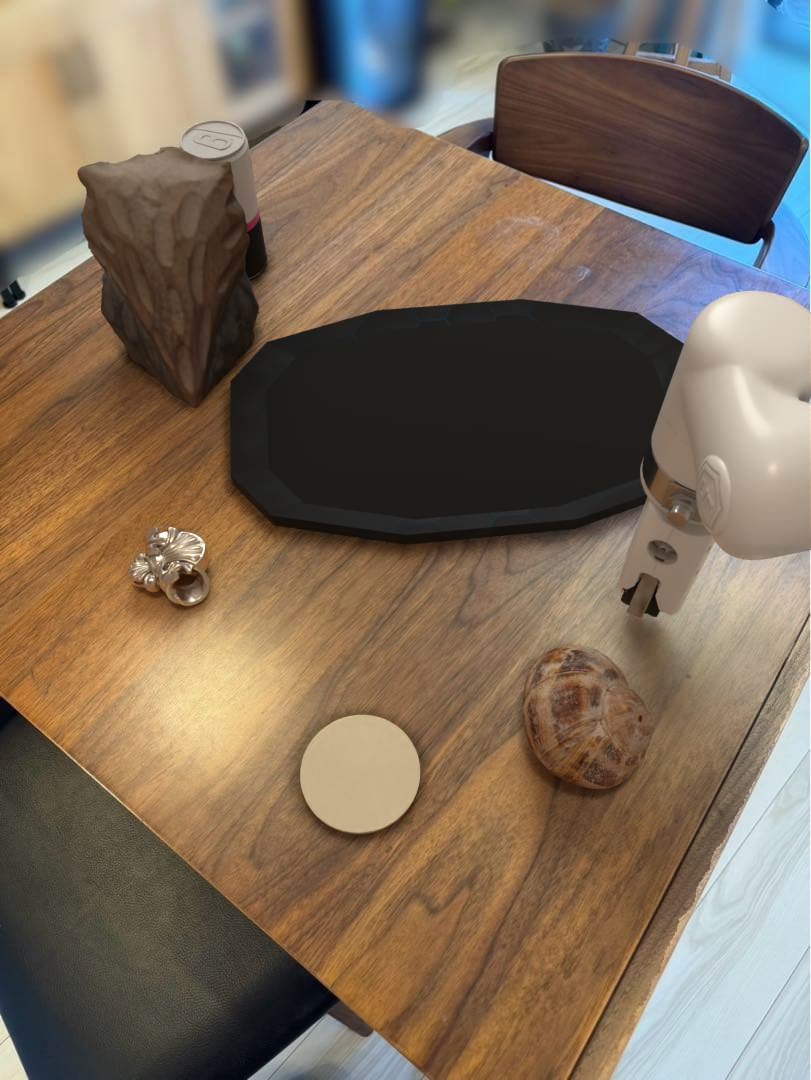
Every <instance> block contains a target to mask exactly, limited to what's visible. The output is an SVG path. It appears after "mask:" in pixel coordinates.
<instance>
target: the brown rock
mask: <svg viewBox="0 0 811 1080" xmlns="http://www.w3.org/2000/svg"><path fill="white" fill-rule="evenodd" d="M77 178H78V180H79V181H80V183H81V185H82V186H83V187H84V188H85V190H86V194H85V195H86V196H85V201H84V206H83V208H82V212H81V213H80V216H81V220H82V222H81V223H82V224H81V225H82V233H83V236H84V237H85V239H86V241H87V248H88V249H89V250H90V253H91V254H92V256H93V257H94V259H95V260H96V261H97V262H98V264H99V266H100V267H101V268H102V269H103V271H104V273H102V274H101V283H102V287H101V296H100V311H101V314H102V316H103V317H104V319H105V320H106V322H107V323H108V324H109V326H110V328H111V329H112V331H113V332H114V334H115V335H116V336H117V337H118V339H119V340H120V341H121V343H122V344H123V346H124V347H125V349H126V352H127V355H128V357H129V358H130V359H131V360H132V361H133V362H135V363H136V364H138V365H140V366H142V367H144V368H145V371H146V373H147V374H148V375H149V376H152V377H155V378H156V379H157V381H158V382H160V383H162V384H164V385H165V388H166V390H167V391H168V392H169V393H170V394H171V395H173V396H175V397H177V398H179V399H181V400H183V402H185V403H186V404H187V405H189V406H191V407H192V408H194V409H196V408H198V407H199V406H200V405H201V403H202V402H203V400H205V398H206V397H208V395H209V394H210V392H211V391H212V390H213V388H214V387H216V386H217V385H219V383H220V382H221V380H222V379H223V377H224V376H225V374H226V373H227V372H228V371H229V370H232V369H233V368H234V367H235V366H236V364H237V361H238V359H239V357H240V356H241V355H242V354H244V353H245V352H247V351H248V350H249V349H250V348H251V347H252V345H253V343H254V338H255V332H254V331H255V330H254V329H255V326H256V322H257V318H258V315H259V313H260V305H259V302H258V301H257V298H256V295H255V293H254V289H253V286H252V282H251V279H249V278H248V276H247V274H246V271H245V256H246V251H247V248H248V246H249V243H250V238H249V236H248V234H247V223H246V216H245V212H244V210H243V208H242V206H241V205H240V203H239V202H238V201H237V199H236V196H235V194H234V192H233V189H234V182H233V173H232V170H231V162H228V161H220V162H211V161H209V160H206V159H204V158H201V157H198V156H195V155H193V154H190V153H188V152H186V151H184V150H182V149H180V148H179V147H177V146H162V147H160V148H159V150H158V151H156V152H153V153H149V154H141V153H138V154H136V155H134V156H132V157H130V158H128V159H126V160H122V161H118V162H114V163H112V162H109V161H97V162H94V163H90V164H87V165H84V166H80V167H79V169H78V170H77Z"/></svg>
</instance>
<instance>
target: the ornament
mask: <svg viewBox="0 0 811 1080" xmlns="http://www.w3.org/2000/svg"><path fill="white" fill-rule="evenodd" d="M143 543H144V545H145V548H144V549H145V551H146V552H144V551H141V552H140V551H139V552H138V554H136V555H135V558H134V562H132V563H131V564H130V566H129V568H128V571H127V579H128V581H129V583H130V584H131V585H133V586H135V587H137V588H144V589H145V590H146V591H147V592H151V593H157V592H160V590H162V591H163V592H164V593H165V595H166V596H167V598H168V599H169V601H171V602H172V603H173V604H177V605H179V604H180V605H181V606H183V607H190V606H192V607H193V606H195V605H198V604H199V603H200V602H202V601H203V600H205V598H206V597H207V595H208V594H209V592H210V588H211V587H210V585H211V584H210V577H209V576H208V574H207V572H206V570H207V568H208V566H209V561H210V552H209V550H208V546H207V544H206V543H205V541H204V540H203V538H201V537H200V536H199V535H197V534H195V533H193V532H190V531H189V532H188V531H187V528H185V527H179V528H175V527H174V526H172V525H171V526H167V529H166V531H161V532H160V527H158V526H156V525H154V526H151V527H150V528H149V529H148V530H147V531H146V533H145V534H144V536H143ZM180 575H190V576H194V577H196V578H195V579H194V580H193V581H192V583H190V584H188V585H179V584H175V582H177V581H178V580H179V578H180Z"/></svg>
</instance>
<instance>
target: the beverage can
mask: <svg viewBox="0 0 811 1080" xmlns="http://www.w3.org/2000/svg"><path fill="white" fill-rule="evenodd" d="M244 131H245V130H244V129H243V128H242V127H241V126H240V125H239V124H237V123H236V122H233V121H230V120H226V119H206V120H202V121H198V122H196V123H193V124H191V125H190V126H188V127H187V128H185V130H183V132H182V133H181V134H180V137H179V147H178V148H180V149H182V150H184V151H186V152H188V153H190V154H193V155H195V156H198V157H201V158H204V159H206V160H209V161H211V162H220V161H228V162H231V170H232V173H233V182H234V189H233V192H234V194H235V196H236V199H237V201H238V202H239V203H240V205H241V206H242V208H243V210H244V212H245V216H246V223H247V234H248V236H249V238H250V243H249V246H248V248H247V251H246V256H245V271H246V274H247V276H248V278H249V280H251V279H253V278H255V277H257V275H259V274H260V273H261V272H262V271H263V270H264V269H265V267H266V266H267V262H268V255H267V254H268V253H267V249H266V244H265V243H266V241H265V237H264V236H265V235H264V231H263V225H262V219H261V213H260V207H259V200H258V195H257V189H256V188H257V187H256V181H255V176H254V170H253V165H252V158H251V152H250V147H249V140H248V138H247V136H246V134H245V132H244Z"/></svg>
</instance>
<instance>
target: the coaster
mask: <svg viewBox="0 0 811 1080" xmlns="http://www.w3.org/2000/svg"><path fill="white" fill-rule="evenodd" d="M299 782H300V788H301V792H302V795H303V798H304V800H305V803H306V805H307V806H308V808H309V810H310V811H311V812H312V813H313V815H314V816H315V817H316V818H317V819H318V820H320V821H321V822H322V823H323V824H324V825H326V826H328V827H330V829H333V830H335V831H338V832H341V833H346V834H350V835H368V834H372V833H376V832H379V831H382V830H385V829H387V828H388V827H391V826H392V825H393V824H395V823H396V822H398V821H399V820H400V819H401V818H402V817H403V816H404V815H405V814H406V813H407V811H409V809H410V807H411V806H412V805H413V803H414V801H415V798H417V795H418V792H419V789H420V782H421V763H420V758H419V755H418V752H417V749H416V747H415V745H414V744H413V742H412V740H411V739H410V737H409V736H408V735H407V734H406V733H405V732H404V731H403V730H402V729H401V728H400V727H399V726H397V724H394V723H393V722H391V721H390V720H387V719H385V718H383V717H380V716H376V715H371V714H353V715H349V716H345V717H342V718H339V719H337V720H334V721H332V722H330V723H329V724H327V725H325V726H324V727H323V728H322V729H320V730H319V731H318V732H317V733H316V735H315V736H314V737H313V738H312V739H311V741H310V742H309V744H308V745H307V747H306V749H305V751H304V754H303V756H302V759H301V763H300V770H299Z"/></svg>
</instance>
